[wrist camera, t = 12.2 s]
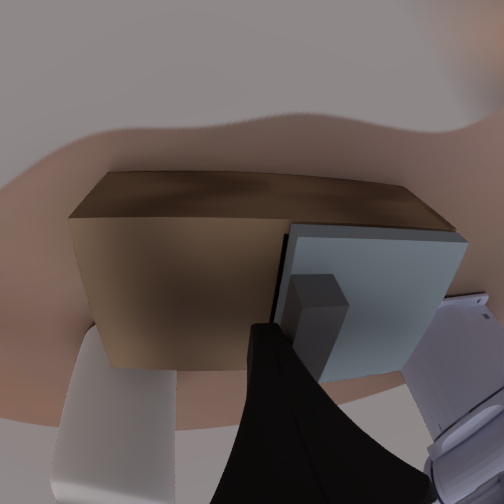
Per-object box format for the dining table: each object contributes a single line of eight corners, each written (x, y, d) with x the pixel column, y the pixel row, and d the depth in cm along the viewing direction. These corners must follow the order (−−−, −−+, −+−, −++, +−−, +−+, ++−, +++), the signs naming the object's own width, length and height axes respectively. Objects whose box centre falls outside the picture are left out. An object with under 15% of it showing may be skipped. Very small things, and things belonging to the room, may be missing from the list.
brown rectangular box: (403, 186, 14) (456, 229, 11) (366, 299, 19) (396, 353, 15) (107, 172, 12) (68, 218, 9) (127, 302, 16) (111, 366, 13)
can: (197, 354, 19) (206, 535, 9) (138, 386, 21) (129, 533, 11) (120, 298, 16) (80, 513, 6) (69, 342, 18) (30, 504, 8)
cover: (457, 232, 10) (491, 264, 8) (395, 357, 14) (412, 391, 12) (291, 224, 9) (312, 268, 7) (263, 374, 13) (271, 416, 11)
